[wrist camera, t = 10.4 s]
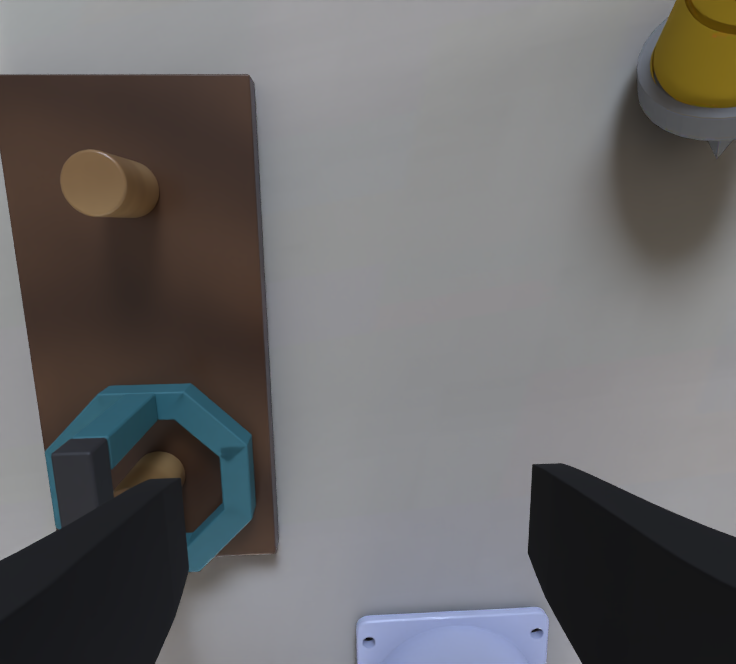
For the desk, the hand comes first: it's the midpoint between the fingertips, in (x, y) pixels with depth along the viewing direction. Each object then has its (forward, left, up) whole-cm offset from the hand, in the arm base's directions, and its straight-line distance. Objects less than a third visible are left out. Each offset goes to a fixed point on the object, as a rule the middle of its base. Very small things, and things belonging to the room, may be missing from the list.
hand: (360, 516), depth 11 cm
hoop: (-3, +7, -8) cm, 11 cm away
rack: (+2, +7, -9) cm, 12 cm away
